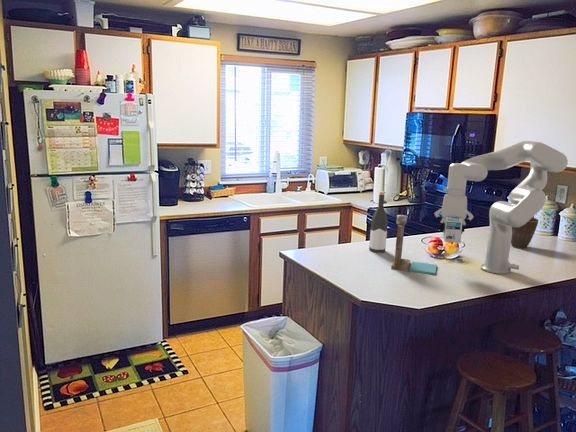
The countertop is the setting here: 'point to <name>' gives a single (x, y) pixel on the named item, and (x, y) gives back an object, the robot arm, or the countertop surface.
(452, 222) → the light bulb box
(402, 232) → the wooden stand
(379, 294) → the countertop surface
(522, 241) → the plant pot
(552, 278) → the countertop surface
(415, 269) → the mat
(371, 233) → the wine bottle
